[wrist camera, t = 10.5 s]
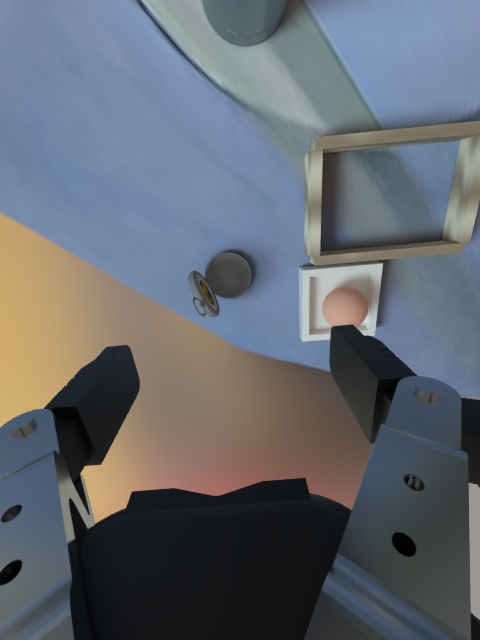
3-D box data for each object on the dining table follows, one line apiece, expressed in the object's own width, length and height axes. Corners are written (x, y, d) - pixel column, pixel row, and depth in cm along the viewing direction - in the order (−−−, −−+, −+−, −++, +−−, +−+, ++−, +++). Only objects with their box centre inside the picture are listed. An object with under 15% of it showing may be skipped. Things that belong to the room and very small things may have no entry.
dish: (299, 267, 39) (302, 270, 37) (375, 260, 39) (383, 263, 37) (299, 335, 43) (302, 341, 41) (368, 329, 43) (374, 335, 41)
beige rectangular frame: (305, 144, 33) (312, 137, 30) (472, 127, 33) (498, 118, 30) (304, 261, 39) (310, 266, 36) (448, 248, 38) (467, 252, 35)
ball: (317, 283, 39) (330, 296, 34) (358, 280, 39) (379, 292, 34) (316, 321, 42) (328, 339, 36) (355, 318, 41) (374, 335, 36)
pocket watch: (259, 265, 39) (266, 282, 30) (232, 313, 42) (231, 342, 33) (208, 237, 37) (198, 246, 28) (183, 289, 40) (168, 313, 31)
